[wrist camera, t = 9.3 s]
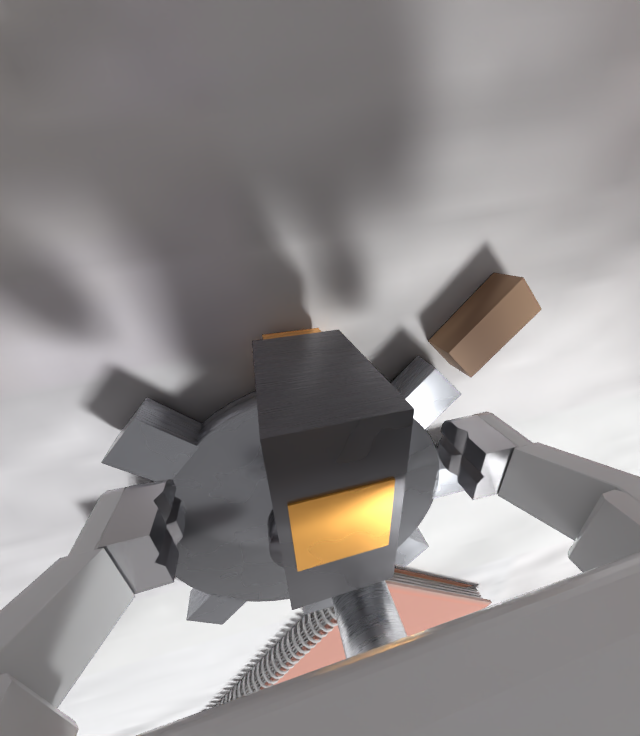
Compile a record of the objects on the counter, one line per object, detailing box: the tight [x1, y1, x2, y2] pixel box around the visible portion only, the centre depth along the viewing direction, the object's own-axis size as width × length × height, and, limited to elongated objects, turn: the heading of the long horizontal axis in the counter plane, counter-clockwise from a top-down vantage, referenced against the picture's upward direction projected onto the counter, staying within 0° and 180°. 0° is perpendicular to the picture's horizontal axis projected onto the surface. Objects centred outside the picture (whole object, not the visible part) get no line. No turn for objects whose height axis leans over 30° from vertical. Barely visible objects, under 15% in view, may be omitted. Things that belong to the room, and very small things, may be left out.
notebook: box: [214, 568, 492, 707], centre depth 26 cm, size 27×17×2 cm, turn 143°
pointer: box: [428, 273, 541, 377], centre depth 12 cm, size 4×2×2 cm, turn 138°
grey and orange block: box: [252, 330, 415, 610], centre depth 9 cm, size 3×6×5 cm, turn 3°
